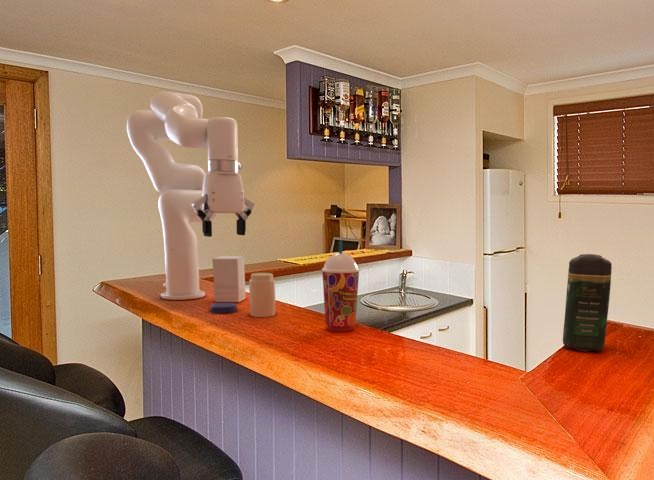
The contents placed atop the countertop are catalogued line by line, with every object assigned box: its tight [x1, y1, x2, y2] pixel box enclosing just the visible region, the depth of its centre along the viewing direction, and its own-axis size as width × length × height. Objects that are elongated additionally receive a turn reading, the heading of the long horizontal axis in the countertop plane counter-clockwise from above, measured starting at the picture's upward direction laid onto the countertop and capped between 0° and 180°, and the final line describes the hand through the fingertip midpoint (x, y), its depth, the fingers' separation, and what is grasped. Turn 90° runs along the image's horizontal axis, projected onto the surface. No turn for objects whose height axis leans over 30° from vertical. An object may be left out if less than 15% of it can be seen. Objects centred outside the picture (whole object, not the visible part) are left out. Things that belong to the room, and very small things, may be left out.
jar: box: [248, 272, 277, 318], centre depth 141 cm, size 6×6×10 cm
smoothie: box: [321, 240, 360, 333], centre depth 125 cm, size 8×8×20 cm
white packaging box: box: [211, 255, 247, 303], centre depth 161 cm, size 7×7×13 cm
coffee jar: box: [562, 253, 613, 352], centre depth 111 cm, size 10×8×19 cm
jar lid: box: [210, 302, 238, 314], centre depth 146 cm, size 7×7×2 cm
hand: (224, 235), depth 145 cm, fingers open, 9 cm apart
